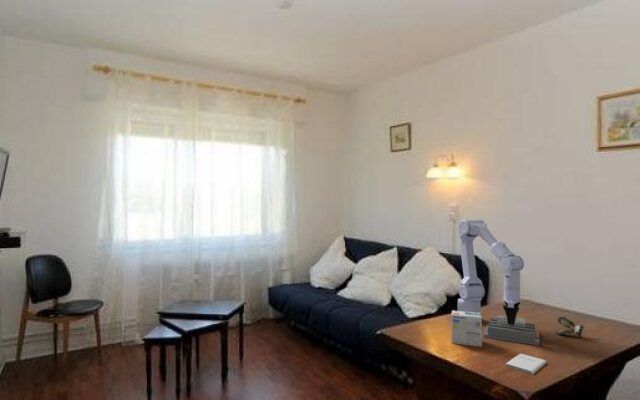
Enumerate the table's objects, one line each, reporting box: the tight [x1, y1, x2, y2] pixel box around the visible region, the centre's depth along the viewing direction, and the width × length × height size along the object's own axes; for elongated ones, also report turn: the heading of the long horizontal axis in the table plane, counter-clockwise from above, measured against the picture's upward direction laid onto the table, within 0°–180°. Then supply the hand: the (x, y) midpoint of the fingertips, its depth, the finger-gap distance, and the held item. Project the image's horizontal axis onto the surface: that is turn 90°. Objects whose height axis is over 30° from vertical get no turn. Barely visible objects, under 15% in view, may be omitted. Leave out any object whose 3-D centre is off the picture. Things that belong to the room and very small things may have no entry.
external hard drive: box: [504, 353, 547, 375], centre depth 131 cm, size 2×8×12 cm
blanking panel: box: [496, 315, 526, 328], centre depth 158 cm, size 10×2×6 cm, turn 63°
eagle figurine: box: [554, 316, 585, 338], centre depth 159 cm, size 8×7×9 cm
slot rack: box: [482, 317, 540, 346], centre depth 158 cm, size 19×14×7 cm
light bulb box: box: [450, 309, 483, 347], centre depth 151 cm, size 11×7×11 cm, turn 71°
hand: (511, 321), depth 158 cm, fingers open, 7 cm apart
